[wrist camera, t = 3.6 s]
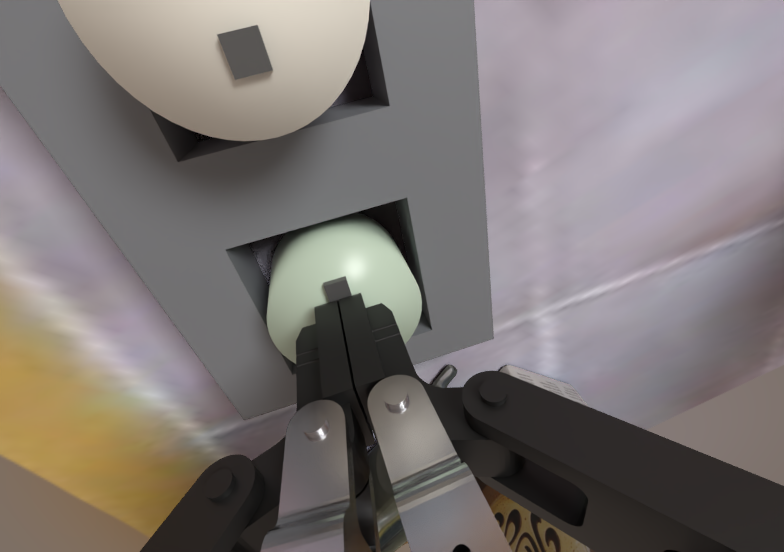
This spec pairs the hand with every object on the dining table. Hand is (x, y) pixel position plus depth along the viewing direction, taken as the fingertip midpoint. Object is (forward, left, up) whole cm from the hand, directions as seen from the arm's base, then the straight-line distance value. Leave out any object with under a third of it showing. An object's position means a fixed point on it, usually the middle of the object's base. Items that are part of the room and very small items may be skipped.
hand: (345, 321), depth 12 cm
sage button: (0, 0, -3) cm, 3 cm away
